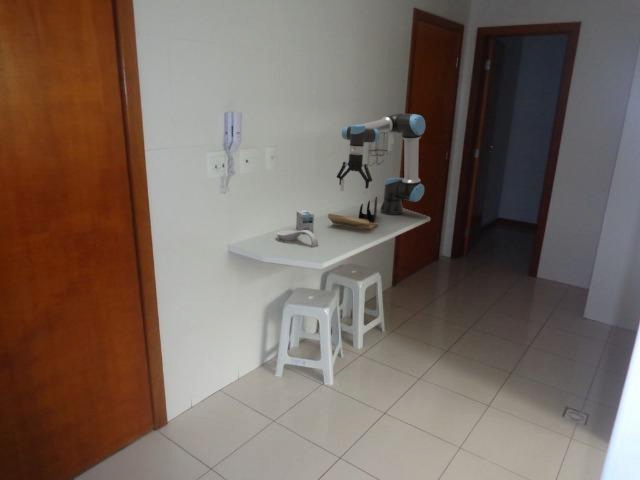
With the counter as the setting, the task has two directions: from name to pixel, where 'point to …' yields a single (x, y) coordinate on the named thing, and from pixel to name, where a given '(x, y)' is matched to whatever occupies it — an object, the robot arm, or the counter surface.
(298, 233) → the white curved piece
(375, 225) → the walnut board
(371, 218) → the letter holder
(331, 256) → the counter surface
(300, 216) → the light bulb box
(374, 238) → the counter surface
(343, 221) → the oak plank
